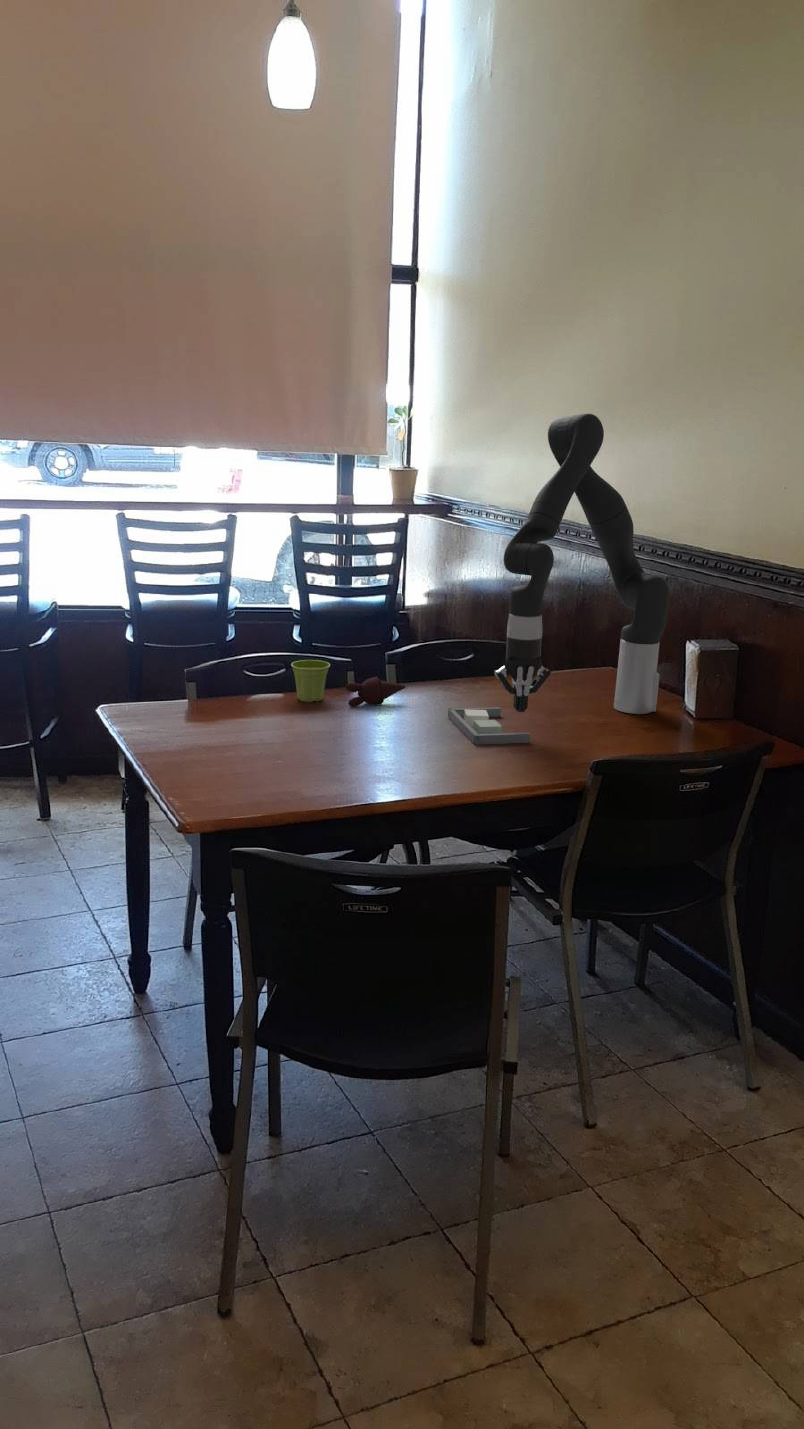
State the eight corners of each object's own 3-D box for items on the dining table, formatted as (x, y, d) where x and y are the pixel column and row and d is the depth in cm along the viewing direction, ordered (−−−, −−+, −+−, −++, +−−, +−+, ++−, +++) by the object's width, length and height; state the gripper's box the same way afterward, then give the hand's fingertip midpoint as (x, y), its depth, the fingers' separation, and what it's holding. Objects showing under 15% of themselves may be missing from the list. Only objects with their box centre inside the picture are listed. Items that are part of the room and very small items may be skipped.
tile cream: (485, 722, 257) (486, 709, 256) (487, 728, 252) (488, 716, 252) (463, 722, 257) (464, 709, 256) (465, 728, 252) (466, 715, 251)
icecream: (397, 672, 272) (339, 681, 267) (409, 671, 266) (350, 681, 260) (401, 700, 273) (343, 709, 267) (412, 700, 266) (354, 710, 261)
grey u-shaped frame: (499, 715, 262) (499, 707, 262) (529, 742, 243) (530, 733, 242) (448, 716, 259) (448, 708, 259) (474, 744, 240) (475, 735, 239)
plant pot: (284, 701, 266) (284, 666, 264) (299, 692, 275) (299, 657, 272) (321, 706, 264) (322, 670, 261) (335, 696, 272) (335, 662, 270)
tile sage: (494, 732, 250) (494, 719, 249) (501, 739, 245) (502, 726, 244) (472, 733, 249) (473, 720, 248) (479, 740, 244) (480, 726, 243)
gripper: (546, 629, 247) (542, 705, 252) (489, 631, 244) (486, 707, 249) (559, 637, 240) (554, 714, 245) (500, 639, 237) (496, 717, 242)
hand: (520, 711), depth 247 cm, fingers closed
